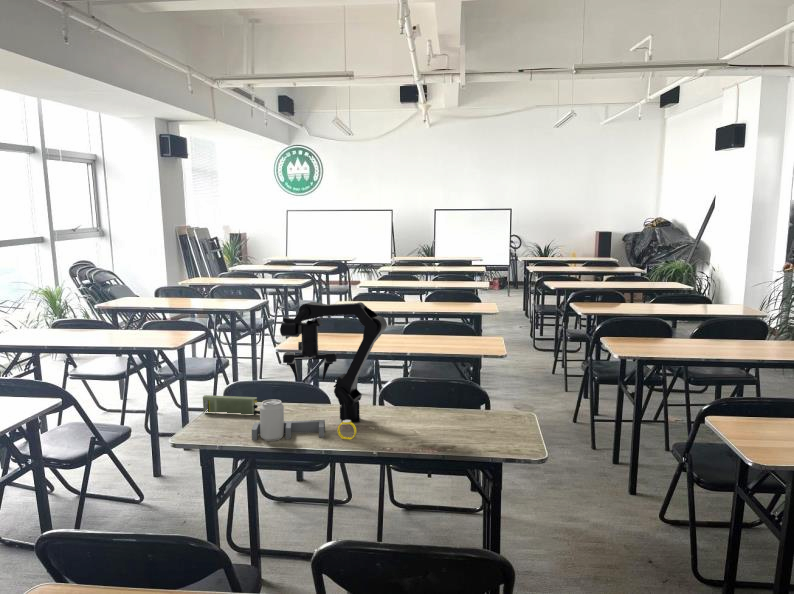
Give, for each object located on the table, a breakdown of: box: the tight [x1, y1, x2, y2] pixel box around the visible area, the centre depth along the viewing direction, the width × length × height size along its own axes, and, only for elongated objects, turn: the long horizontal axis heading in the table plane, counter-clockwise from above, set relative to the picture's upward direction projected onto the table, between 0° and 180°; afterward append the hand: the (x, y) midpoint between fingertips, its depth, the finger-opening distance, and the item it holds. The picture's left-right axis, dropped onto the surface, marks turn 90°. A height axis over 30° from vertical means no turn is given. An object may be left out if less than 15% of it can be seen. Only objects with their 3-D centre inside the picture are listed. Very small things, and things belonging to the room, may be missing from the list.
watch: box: [337, 420, 357, 440], centre depth 185 cm, size 6×3×6 cm, turn 77°
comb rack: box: [251, 419, 326, 441], centre depth 188 cm, size 23×7×4 cm, turn 97°
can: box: [259, 398, 285, 442], centre depth 185 cm, size 8×8×12 cm
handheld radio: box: [202, 394, 260, 415], centre depth 210 cm, size 7×3×25 cm
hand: (310, 380), depth 207 cm, fingers open, 9 cm apart
